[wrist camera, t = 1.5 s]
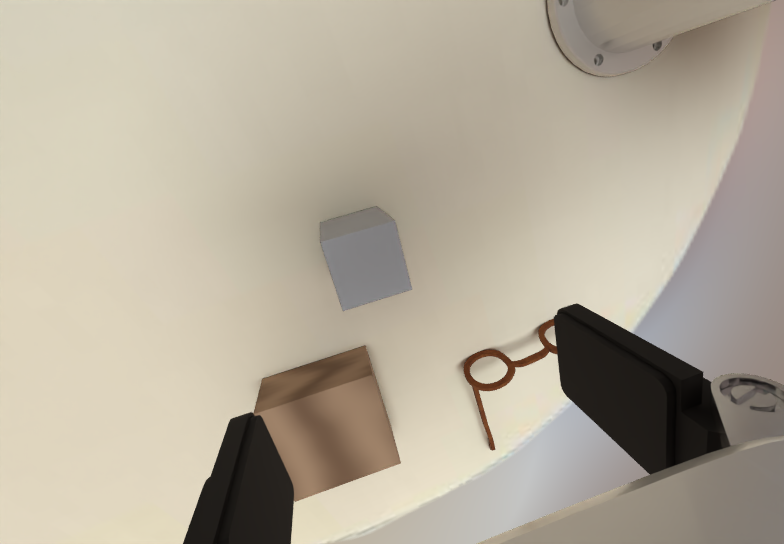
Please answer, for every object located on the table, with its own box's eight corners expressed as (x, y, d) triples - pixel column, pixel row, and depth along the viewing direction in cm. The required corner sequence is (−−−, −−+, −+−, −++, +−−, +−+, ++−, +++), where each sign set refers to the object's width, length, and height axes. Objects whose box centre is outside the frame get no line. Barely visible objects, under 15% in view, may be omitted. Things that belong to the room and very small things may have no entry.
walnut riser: (365, 345, 35) (372, 374, 30) (390, 425, 38) (400, 463, 33) (262, 378, 34) (253, 414, 29) (297, 458, 37) (294, 501, 32)
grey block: (376, 206, 31) (394, 220, 23) (390, 259, 33) (412, 289, 25) (320, 222, 30) (320, 242, 23) (337, 275, 32) (342, 311, 25)
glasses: (566, 310, 38) (601, 330, 34) (586, 401, 43) (619, 431, 38) (455, 359, 37) (474, 388, 33) (486, 448, 42) (508, 484, 37)
